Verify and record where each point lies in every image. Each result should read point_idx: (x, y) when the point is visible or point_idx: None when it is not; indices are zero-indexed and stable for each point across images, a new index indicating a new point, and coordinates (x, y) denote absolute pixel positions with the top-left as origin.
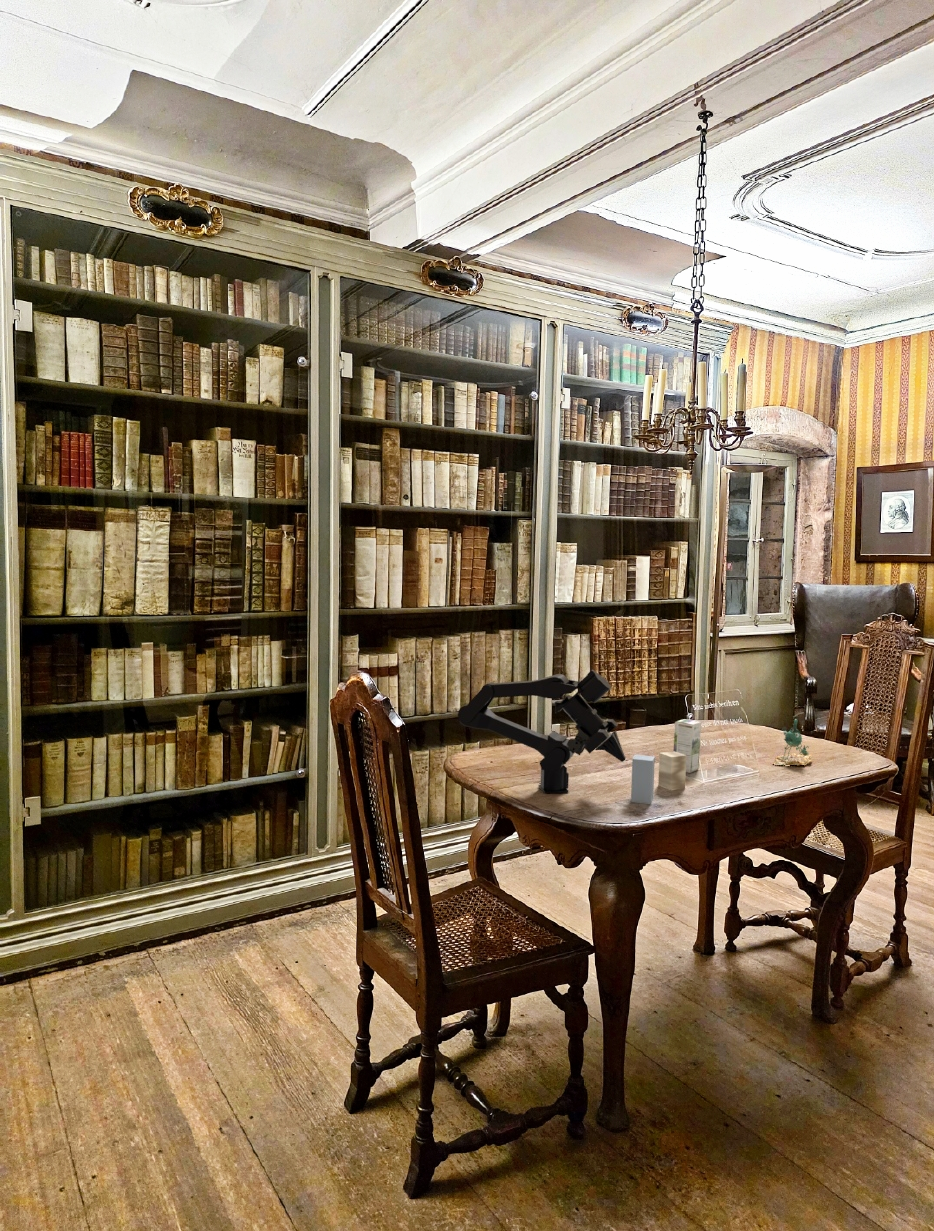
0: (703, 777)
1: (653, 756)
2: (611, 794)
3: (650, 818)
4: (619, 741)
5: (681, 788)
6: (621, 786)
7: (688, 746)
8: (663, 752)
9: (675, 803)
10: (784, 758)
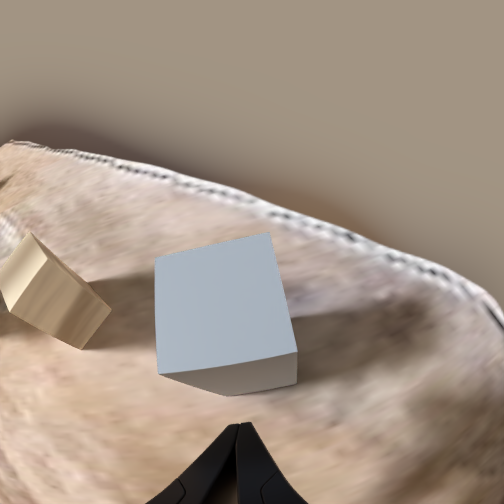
0: None
1: (160, 262)
2: None
3: (414, 270)
4: (154, 498)
5: (91, 288)
6: (132, 454)
7: None
8: (5, 301)
9: None
10: None
